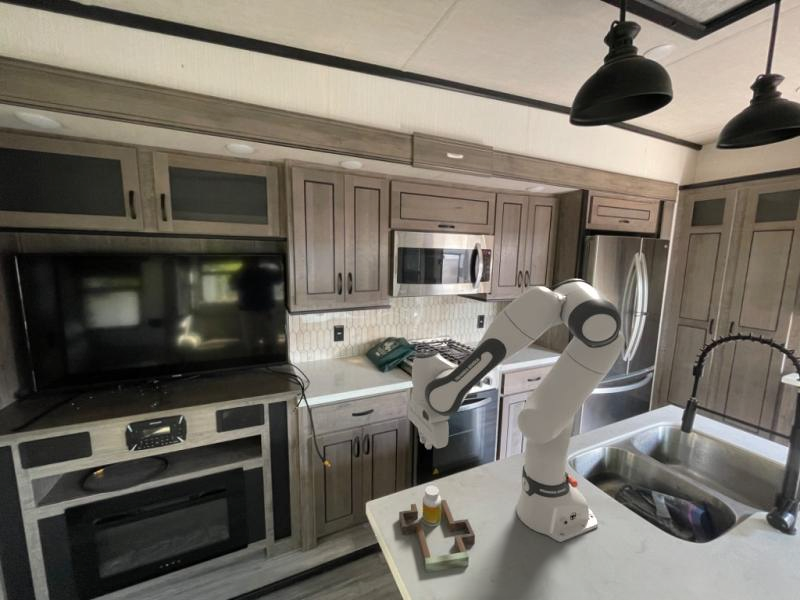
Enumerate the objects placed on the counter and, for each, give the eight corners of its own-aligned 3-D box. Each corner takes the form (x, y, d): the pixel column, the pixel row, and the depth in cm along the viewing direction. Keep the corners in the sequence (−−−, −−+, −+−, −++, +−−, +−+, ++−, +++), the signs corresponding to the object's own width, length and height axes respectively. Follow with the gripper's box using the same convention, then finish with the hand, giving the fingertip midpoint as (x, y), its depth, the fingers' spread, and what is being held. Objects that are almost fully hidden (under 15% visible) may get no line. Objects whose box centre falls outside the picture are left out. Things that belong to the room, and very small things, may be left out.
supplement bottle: (440, 528, 95) (440, 498, 93) (421, 525, 96) (421, 495, 94) (441, 513, 100) (441, 485, 99) (423, 511, 101) (424, 482, 100)
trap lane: (457, 505, 103) (457, 498, 103) (483, 562, 84) (483, 554, 84) (398, 513, 100) (398, 506, 100) (410, 575, 81) (410, 566, 81)
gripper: (402, 391, 109) (403, 430, 111) (433, 421, 90) (432, 466, 92) (419, 388, 111) (419, 426, 113) (452, 416, 93) (451, 461, 95)
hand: (425, 445), depth 103 cm, fingers closed
